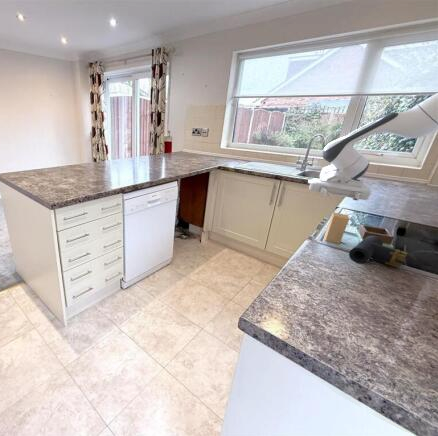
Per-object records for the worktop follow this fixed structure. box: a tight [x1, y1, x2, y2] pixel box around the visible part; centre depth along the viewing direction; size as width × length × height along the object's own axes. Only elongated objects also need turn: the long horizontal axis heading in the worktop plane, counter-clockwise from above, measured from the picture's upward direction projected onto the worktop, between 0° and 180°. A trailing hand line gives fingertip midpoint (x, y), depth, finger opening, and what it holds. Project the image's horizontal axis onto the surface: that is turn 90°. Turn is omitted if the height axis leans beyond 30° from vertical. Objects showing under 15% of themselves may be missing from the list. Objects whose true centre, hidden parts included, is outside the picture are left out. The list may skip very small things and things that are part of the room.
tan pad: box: [324, 211, 350, 245], centre depth 90 cm, size 4×4×10 cm
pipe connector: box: [348, 236, 408, 269], centre depth 79 cm, size 12×5×15 cm
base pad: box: [354, 223, 395, 249], centre depth 92 cm, size 12×9×4 cm
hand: (341, 196), depth 94 cm, fingers open, 8 cm apart
